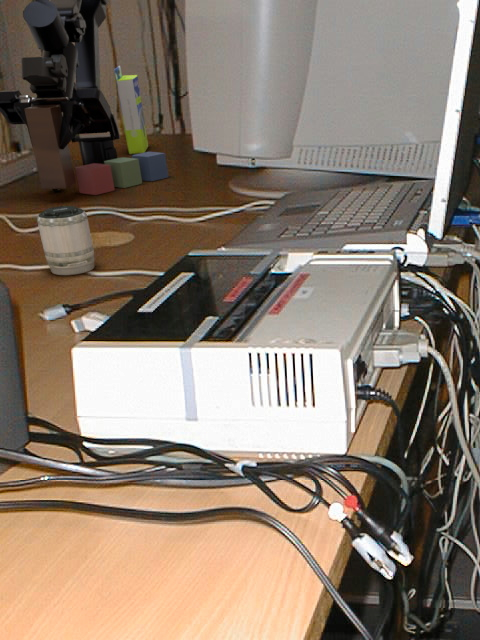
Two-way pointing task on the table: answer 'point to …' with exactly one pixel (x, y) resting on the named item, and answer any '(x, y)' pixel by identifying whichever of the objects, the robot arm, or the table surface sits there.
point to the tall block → (49, 147)
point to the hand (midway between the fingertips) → (47, 148)
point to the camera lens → (66, 240)
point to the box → (131, 112)
